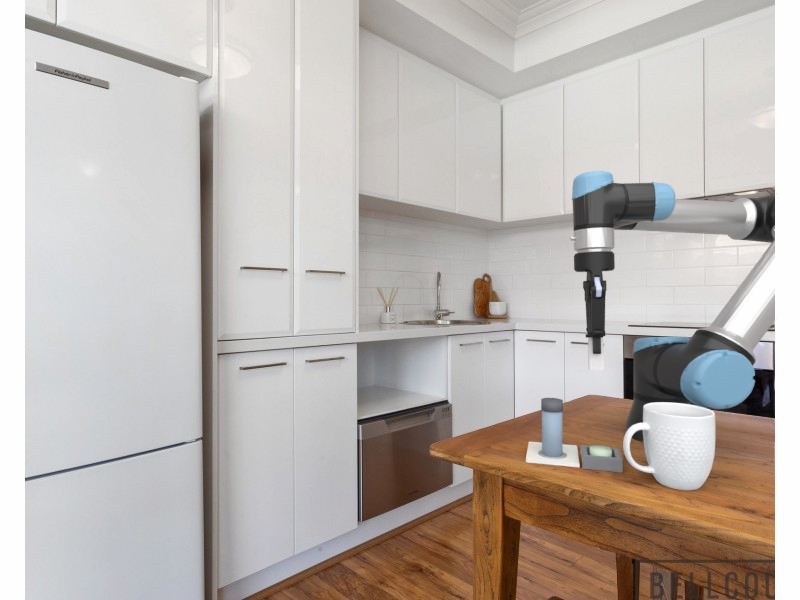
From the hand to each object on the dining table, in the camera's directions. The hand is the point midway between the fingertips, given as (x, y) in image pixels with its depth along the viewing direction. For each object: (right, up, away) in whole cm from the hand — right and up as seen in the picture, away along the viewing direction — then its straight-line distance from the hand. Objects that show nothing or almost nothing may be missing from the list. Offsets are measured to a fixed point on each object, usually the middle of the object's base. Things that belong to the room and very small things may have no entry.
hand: (596, 369), depth 97 cm
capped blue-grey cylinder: (-8, -17, +2) cm, 19 cm away
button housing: (0, -18, -3) cm, 18 cm away
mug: (+8, -18, -12) cm, 24 cm away
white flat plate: (-8, -18, +3) cm, 20 cm away
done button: (0, -18, -3) cm, 18 cm away
